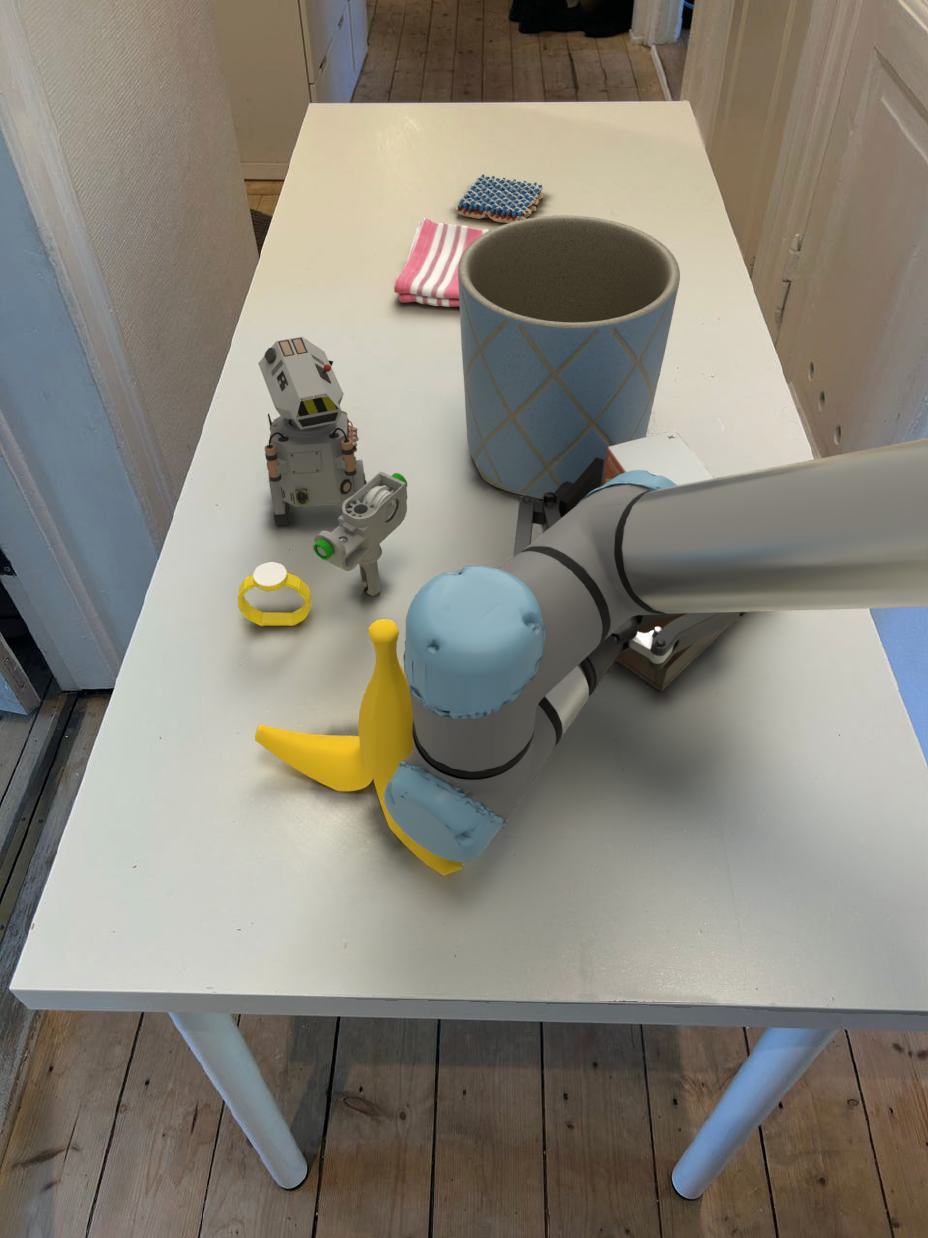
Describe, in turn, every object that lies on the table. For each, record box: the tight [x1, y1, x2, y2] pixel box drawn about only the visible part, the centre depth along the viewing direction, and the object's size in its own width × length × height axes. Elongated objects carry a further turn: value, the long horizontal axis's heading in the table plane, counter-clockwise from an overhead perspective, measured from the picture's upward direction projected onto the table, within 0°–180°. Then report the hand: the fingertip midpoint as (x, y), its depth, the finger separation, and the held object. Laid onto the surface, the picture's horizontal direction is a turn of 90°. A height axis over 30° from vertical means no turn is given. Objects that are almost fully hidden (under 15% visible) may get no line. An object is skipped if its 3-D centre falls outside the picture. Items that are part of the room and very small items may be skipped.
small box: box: [602, 429, 716, 486], centre depth 75 cm, size 8×6×13 cm
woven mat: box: [455, 173, 545, 224], centre depth 127 cm, size 10×11×2 cm
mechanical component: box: [312, 471, 408, 597], centre depth 76 cm, size 3×10×10 cm, turn 145°
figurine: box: [257, 336, 368, 526], centre depth 83 cm, size 9×12×15 cm
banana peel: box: [254, 618, 464, 876], centre depth 62 cm, size 16×19×17 cm
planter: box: [458, 214, 681, 500], centre depth 85 cm, size 19×19×20 cm
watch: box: [237, 561, 312, 627], centre depth 76 cm, size 6×3×6 cm, turn 93°
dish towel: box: [393, 217, 491, 308], centre depth 114 cm, size 17×23×4 cm
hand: (670, 498), depth 76 cm, fingers open, 13 cm apart
